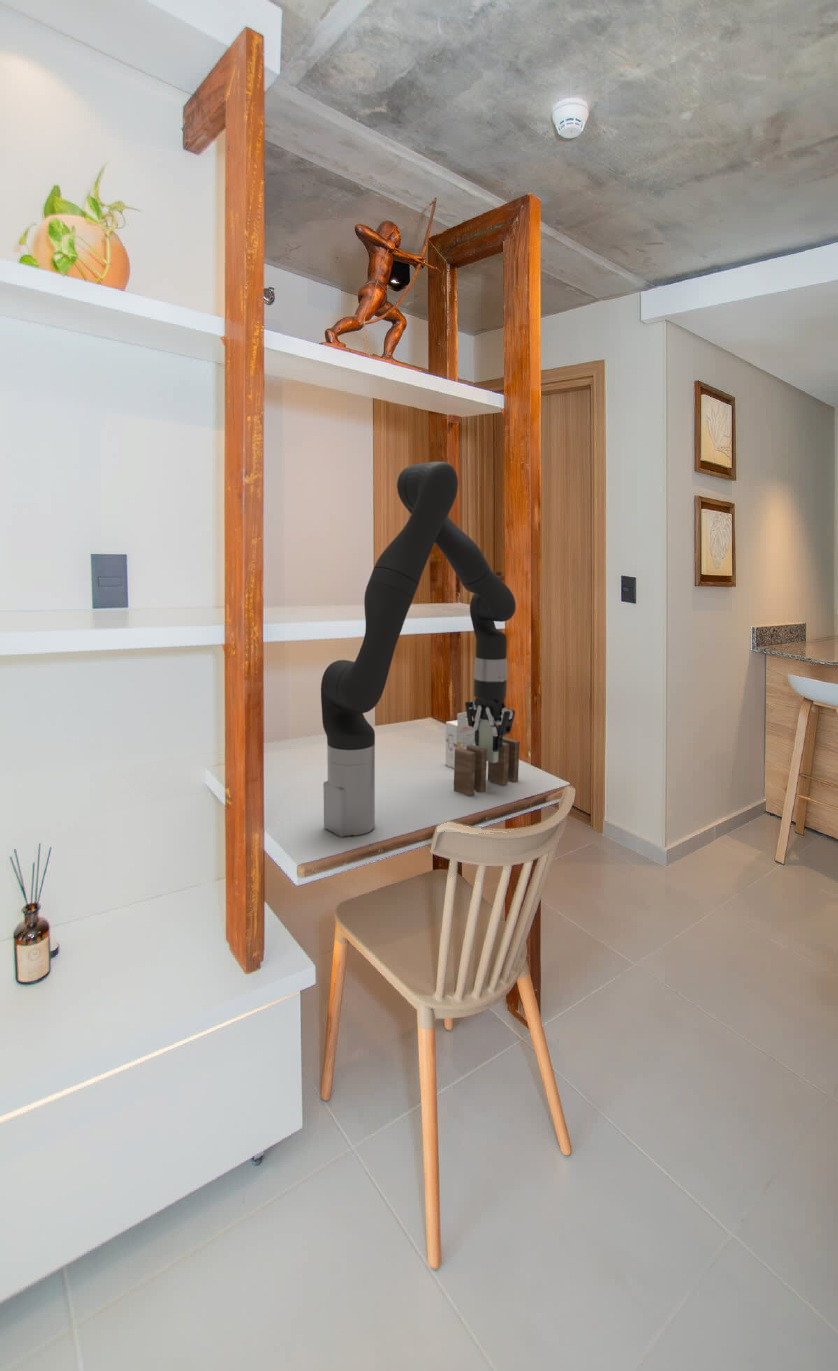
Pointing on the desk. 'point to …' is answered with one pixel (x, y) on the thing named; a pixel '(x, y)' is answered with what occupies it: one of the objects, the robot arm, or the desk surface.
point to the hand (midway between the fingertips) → (488, 748)
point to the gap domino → (487, 740)
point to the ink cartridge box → (458, 737)
